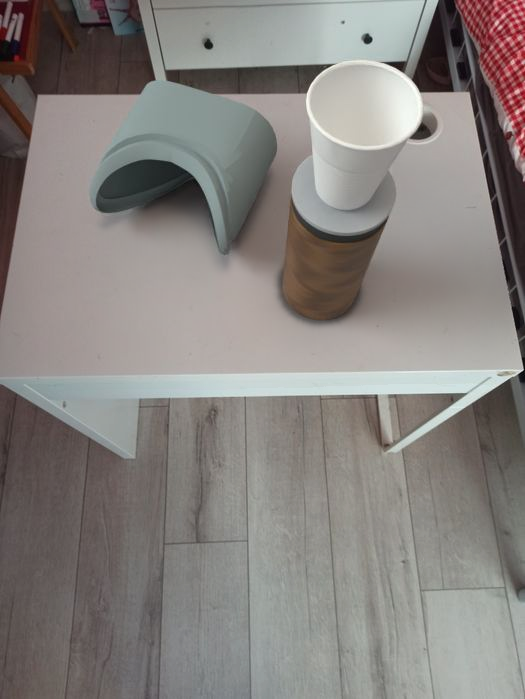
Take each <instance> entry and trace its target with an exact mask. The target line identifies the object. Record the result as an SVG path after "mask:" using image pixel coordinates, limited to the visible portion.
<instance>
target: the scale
mask: <svg viewBox="0 0 525 699" xmlns="http://www.w3.org/2000/svg"><path fill="white" fill-rule="evenodd" d="M290 191H291V192H290V193H292V203H293V208H294V212H295V214H296V217H297V218H298V220H299V221H300V223H301V224H302V225H303V226H304V227H305V228H306V229H307V230H308V231H309V232H311V233H312V234H314V235H315V236H317V237H319V238H322V239H324V240H327V241H331V242H337V243H350V242H356V241H359V240H363V239H365V238H367V237H369V236H371V235H372V234H374V233H375V232H376V231H377V230H379V228H380V227H381V226H382V225H383V223H384V222H385V220H386V218H387V217H388V216H389V217H390V215H389V214H391V213H392V211H393V208H394V206H395V203H396V199H397V198H396V197H397V187H396V182H395V179H394V177H393V175H392V173H391V171H390V169H389V170H388V172H387V173H386V175H385V176H384V178H383V180H382V181H381V183H380V184H379V186H378V188H377V189H376V191H375V192H374V194H373V196H372V197H371V199H370V200H369V201H368V202H367V203H366V204H365V205H363V206H362V207H359V208H357V209H352V210H340V209H336V208H333V207H331V206H329V205H327V204H326V203H325V202H323V201H322V199H321V198H320V197H319V195H318V194H317V191H316V187H315V176H314V163H313V153H312V154H310V155H309V156H307V157H306V158H305V159H303V161H302V162H301V163H300V164H299V165H298V166H297V167H296V169H295V171H294V174H293V177H292V180H291V190H290Z"/></svg>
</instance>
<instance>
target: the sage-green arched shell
mask: <svg viewBox="0 0 525 699" xmlns="http://www.w3.org/2000/svg"><path fill="white" fill-rule="evenodd" d="M131 107H132V108H131V109H130V110H129V112H128V114H127V115H126V117H125V118H124V120H123V121H122V123H121V125H120V126H119V128H118V129H117V131H116V132H115V134H114V136H113V138H112V140H111V141H110V143H109V145H108V147H107V148H106V150H105V152H104V154H103V156H102V158H101V161H100V162H99V165H98V168H97V169H96V171H95V173H94V174H93V176H92V179H91V182H90V184H89V192H88V197H89V201H90V203H91V205H92V207H93V209H94V210H95V211H96V212H99V213H101V214H115V213H121V212H124V211H128V210H132V209H134V208H137V207H139V206H142V205H145V204H147V203H150V202H151V201H154V200H156V199H158V198H160V197H162V196H164V195H166V194H168V193H170V192H171V191H173V190H176V189H177V188H178V187H181V186H182V185H184V184H185V183H187V182H189V181H191V180H196V182H197V183H198V184H199V186H200V188H201V189H202V191H203V194H204V196H205V198H206V201H207V205H208V206H207V207H208V211H209V217H210V222H211V225H212V230H213V233H214V237H215V241H216V246H217V249H218V252H219V253H220V254H221V255H223V256H227V255H229V253H230V250H231V242H233V241H234V240H235V239H236V238H237V236H238V235H239V233H240V231H241V229H242V227H243V225H244V222H245V221H246V219H247V217H248V214H249V212H250V211H251V208H252V207H253V204H254V202H255V200H256V198H257V196H258V193H259V191H260V189H261V187H262V185H263V182H264V181H265V179H266V176H267V175H268V172H269V170H270V168H271V166H272V164H273V162H274V160H275V158H276V156H277V152H278V139H277V136H276V132H275V131H274V128H273V125H271V123H270V121H269V120H268V119H267V118H266V117H265V116H264V115H262V113H260V112H258V111H257V110H256V109H254V108H252V107H251V106H249V105H247V104H244V103H242V102H239V101H236V100H233V99H230V98H227V97H224V96H221V95H218V94H214V93H212V92H207V91H205V90H201V89H198V88H194V87H191V86H189V85H185V84H181V83H178V82H173V81H169V80H164V79H161V80H160V79H158V80H151V81H150V82H148V83H147V84H146V85H145V86H144V88H143V89H142V91H141V93H140V95H139V96H138V98H137V100H136V101H135V102H134V104H133V106H131Z"/></svg>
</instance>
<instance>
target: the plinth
mask: <svg viewBox="0 0 525 699" xmlns="http://www.w3.org/2000/svg"><path fill="white" fill-rule="evenodd" d="M390 214H391V213H390ZM390 214H389V216H388V217H387V218H386V220H385V222H384V223H383V225H382V226H381V227H380V228H379V230H377V231H376V232H375V233H374V234H372V235H371V236H369V237H367V238H365V239H363V240H359V241H356V242H350V243H337V242H331V241H327V240H324V239H322V238H319V237H317V236H315V235H314V234H312V233H311V232H309V231H308V230H307V229H306V228H305V227H304V226H303V225H302V224H301V223H300V221H299V220H298V218H297V217H296V214H295V212H294V208H293V203H292V192H290V200H289V211H288V220H287V221H288V222H287V233H286V245H285V253H284V254H285V255H284V263H283V264H284V266H283V274H282V275H283V276H282V292H283V295H284V298H285V300H286V302H287V304H288V305H289V306H290V308H292V309H293V310H294V311H295V312H296V313H297V314H299V315H301V316H302V317H305V318H308V319H310V320H314V321H315V320H316V321H327V320H332V319H335V318H338V317H340V316H341V315H343V314H345V313H346V312H347V311H348V310H349V309H350V308H351V307H352V306H353V304H354V302H355V300H356V297H357V295H358V292H359V290H360V289H361V288H360V287H361V286H362V283H363V280H364V278H365V276H366V274H367V271H368V268H369V266H370V263H371V261H372V259H373V256H374V254H375V252H376V249H377V247H378V244H379V242H380V240H381V237H382V235H383V233H384V231H385V227H386V226H387V223H388V220H389V219H390V218H389V217H390Z"/></svg>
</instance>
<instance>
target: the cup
mask: <svg viewBox="0 0 525 699" xmlns="http://www.w3.org/2000/svg"><path fill="white" fill-rule="evenodd" d="M305 105H306V107H305V108H306V113H307V115H308V117H309V118H308V119H309V128H310V137H311V149H312V154H313V163H314V176H315V187H316V191H317V194H318V195H319V197H320V198H321V199H322V201H323V202H325V203H326V204H327V205H329V206H331V207H333V208H336V209H340V210H352V209H357V208H359V207H362V206H363V205H365V204H366V203H367V202H368V201H369V200H370V199H371V197H372V196H373V194H374V192H375V191H376V189H377V188H378V186H379V184H380V183H381V181H382V180H383V178H384V176H385V175H386V173H387V172H388V170H389V171H390V168H391V167H392V166H393V164H394V163H395V161H396V159H397V158H398V156H399V154H400V153H401V151H402V149H403V148H404V147H405V145H406V143H407V142H408V140H409V139H411V137H412V136H413V135H414V134H415V133H416V132H417V131H418V129H419V128H420V125H421V124H422V121H423V117H424V112H425V110H424V109H425V104H424V100H423V96H422V94H421V92H420V89H419V88H418V86H417V85H416V84H415V82H414V81H413V80H412V78H410V77H409V76H408V75H407V74H405V73H404V72H402V71H401V70H399V69H398V68H396V67H394V66H391V65H390V64H387V63H384V62H380V61H376V60H370V59H369V60H368V59H351V60H345V61H341V62H339V63H336V64H333V65H331V66H329V67H328V68H326V69H324V70H322V71H321V72H320V73H319V74H318V75H317V76H316V77H315V78H314V79H313V81H311V84H310V85H309V88H308V90H307V92H306V99H305Z"/></svg>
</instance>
